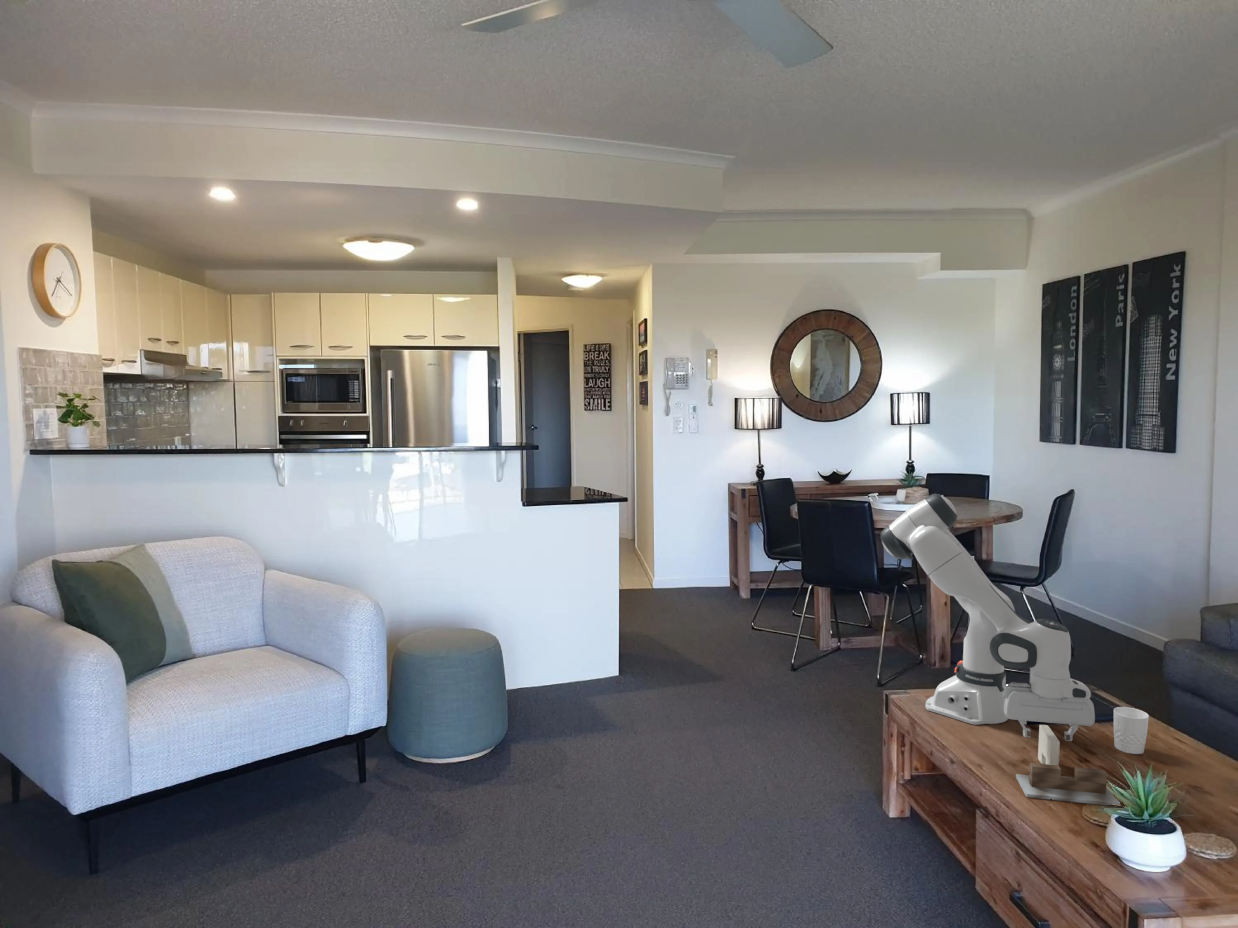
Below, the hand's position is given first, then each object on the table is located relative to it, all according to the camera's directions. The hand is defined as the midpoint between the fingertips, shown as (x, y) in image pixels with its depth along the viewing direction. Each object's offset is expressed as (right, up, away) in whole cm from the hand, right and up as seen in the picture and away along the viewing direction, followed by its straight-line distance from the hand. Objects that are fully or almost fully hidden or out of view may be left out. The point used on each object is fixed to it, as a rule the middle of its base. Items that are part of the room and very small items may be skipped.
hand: (1047, 738), depth 201 cm
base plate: (-2, -9, -11) cm, 15 cm away
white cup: (+28, -7, +11) cm, 31 cm away
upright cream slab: (+1, -8, +1) cm, 8 cm away
